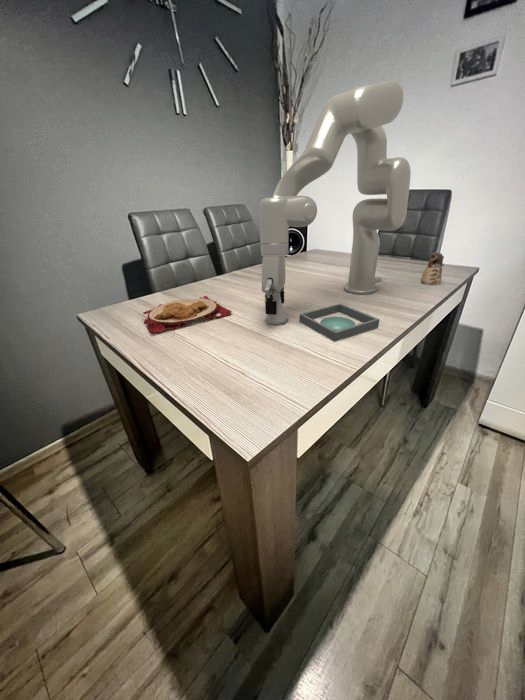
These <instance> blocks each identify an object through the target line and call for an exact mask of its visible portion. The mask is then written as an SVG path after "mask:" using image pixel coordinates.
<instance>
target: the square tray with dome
mask: <svg viewBox="0 0 525 700" xmlns="http://www.w3.org/2000/svg"><path fill="white" fill-rule="evenodd" d="M337 313H341V314H343V315H345V316H348V317H349V318H348V317H345V316H344V317H343V316H329V315H333V314H337ZM325 316H328V317H325ZM321 317H325V318H323V319H321V320H320V321H317V320H315V319H319V318H321ZM351 318H352V319H354V320H357V321H359V322H360V323H359V324H356V323H355V321H354V320H352V319H351ZM298 320H299V323H301V324H302V325H304V326H306V327H308V328H310V329H312V330H313V331H315V332H317V333H319V334H320V335H322V336H324V337H325V338H327V339H329V340H331V341H332V342H339V341H341V340H345V339H347V338H350V337H353V336H357V335H360V334H362V333H366V332H368V331H372V330H375V329H377V328H379V325H380V318H377V317H375V316H373V315H370V314H368V313H365V312H362V311H361V310H358V309H356V308H355V309H354V308H352V307H350V306H348V305H344V304H342V303H336V304H333V305H329V306H325V307H322V308H318V309H313V310H310V311H306V312H303V313H299V319H298Z"/></svg>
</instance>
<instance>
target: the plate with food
mask: <svg viewBox="0 0 525 700" xmlns="http://www.w3.org/2000/svg"><path fill="white" fill-rule="evenodd" d="M142 313H143V315H146V316H147V318H146V317H145V318H144V320H143V324H147V325H146V329H147V330H148V331H149V332H150V334H154V333H156V334H157V333H162V332H163V331H167V330H170V331H175V330H176V329H178V328H182V327H186V326H189V325H196V323H195V322H193V323H192V322H190V321H192V320H196V319H201V318H202V321H201V323H203V322H208V321H209V322H210V321H215V320H216V319H217V318H221V317H225V316H228V315H230V314H232V310H230V309H229V308H227V307H225V306H222V305H220V304H219V303H217V300H215V301H214V300H212V299H211V298H209V297H208V296H207V295H204V296H202V297H200V298H186V299H182V300H181V299H180V300H173V301H169V302H165V303H163V304H159V305H158V306H157V307H155V308H153V309H149V310H146V311H143V312H142ZM217 314H220V315H217ZM187 322H189V323H187Z"/></svg>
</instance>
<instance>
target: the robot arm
mask: <svg viewBox="0 0 525 700" xmlns="http://www.w3.org/2000/svg"><path fill="white" fill-rule="evenodd" d="M403 91H404V90H403V87H402V85H401V83H399V81H396V80H394V79H391V80H387V81H383V82H378V83H373V84H368V85H362V86H358V87H355V88H353V89H350V90H347V91H345V92H342V93H339V94H336V95H333V96H332V97H331V98H329V99H327V101H325V103H324V105H323V106H322V108H321V111H320V113H319V116H318V118H317V120H316V121H315V124H314V128H313V129H312V131H311V134H310V137H309V139H308V141H307V143H306V146H305V148H304V149H303V152H302V153H301V155H300V156H298V158H297V159H296V160H295V161H294V162H293V163H292V164H291V166H290V167H289V168H288V169H287V170H286V171H285V172H284V173H283V175H282V176H281V178H280V179H279V181H278V182H277V185H276V187H275V189H274V192H273V194H272V197H266V198H263V199H261V200H260V202H259V229H260V230H259V231H260V233H259V234H260V255H261V256H262V263H261V292H262V293H264V294H265V295H264V297H265V298H264V303H265V305H264V306H265V309H264V311H265V315H267V314H270V315H276V314H277V301H275V300H276V293H278V292H279V291H280V290H281V292H280V297H281V302H282V305H283V304H285V284H286V257H287V256H288V255H289V228H290V227H292V228H293V227H294V228H303V227H304V228H305V227H307V226H309V225H311V224H312V223H313V222H314V221H315V219H316V217H317V214H318V206H317V203H316V201H315V200H314V199H313V198H311V197H310V196H307V195H299V193H301V191H302V190H303V189H304V188H305V187H306V186H307V185H309V184H311V183H312V182H314V181H316V180H318V179H319V178H320V177H322V176H323V175H325V174H326V173H328V172H329V171H330V170H331V169H332V167H333V165H334V163H335V161H336V158H337V156H338V153H339V151H340V149H341V147H342V144H343V143H344V140H345V138H346V137H347V136H348V135H351V136H352V138H353V139H354V141H355V145H356V152H357V154H356V157H357V161H356V162H357V165H356V166H357V167H356V168H357V169H356V171H357V175H356V178H357V179H356V180H357V181H356V183H357V190H358V192H359V194H361V195H366V196H376V195H377V196H378V195H379V196H380V195H386V198H385V197H384V198H381V197H380V198H365V199H363V200H361V201H359V202H358V203H356V205H355V206H354V208H353V210H352V231H353V232H352V233H353V235H352V245H351V256H350V264H349V272H348V283H346V284H344V285H343V290H344V292H347V293H350V294H357V295H368V294H373V293H376V292H377V291H378V286H377V285H376V284H377V283H380V282H382V281H383V277H381V276H378V277H376V269H377V265H378V259H379V258H378V257H379V253H380V252H379V251H380V245H381V240H380V235H379V232H378V231H377V230H379V231H395V230H398V229H400V228H401V227H402V226H403V224H404V223H405V220H406V218H407V212H408V205H409V204H408V203H409V197H410V196H409V193H410V184H411V173H412V172H411V166H410V163H409V161H408V160H407V158H404V157H399V156H398V157H390V158H388V156H387V155H388V154H387V151H388V150H387V146H388V142H387V141H388V139H387V134H386V132H385V129H384V128H383V126H385V125H388V124H390V123H392V122H393V121H395V119H396V118H397V117H398V116H399V114H400V112H401V110H402V108H403V103H404V92H403ZM272 294H273V296H272Z"/></svg>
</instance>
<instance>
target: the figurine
mask: <svg viewBox="0 0 525 700" xmlns="http://www.w3.org/2000/svg"><path fill="white" fill-rule="evenodd" d="M431 256H432V257H431V258H429V260H428V263H427V265H426V267H425V268H424V271H423V272H422V275H421V278H420V282H422V283H421V284H423V283H424V284H423V285H426V284H430V285H429V286H438V285H437V284H439V285H440V284H441V281H442V276H443V275H442V272H443V268H442V267H444V265H445V264H444V262H443V261H444V258H445V256H444V255H443V254H442V253H441V252H433V253H431Z"/></svg>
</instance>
